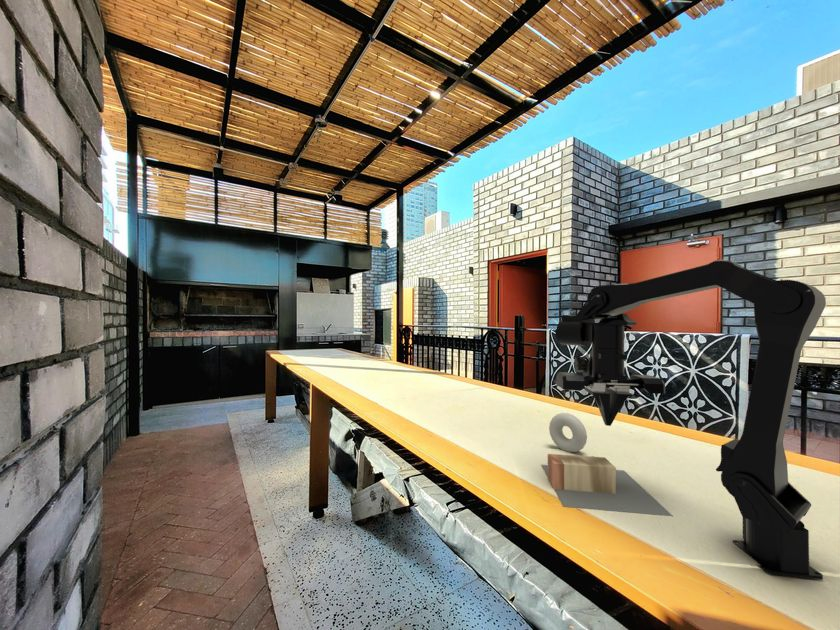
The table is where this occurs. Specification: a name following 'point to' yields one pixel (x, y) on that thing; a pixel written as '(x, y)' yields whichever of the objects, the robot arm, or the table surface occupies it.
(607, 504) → the rubber mat
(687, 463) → the table surface
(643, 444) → the table surface
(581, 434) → the donut
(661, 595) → the table surface
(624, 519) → the table surface
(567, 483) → the pine block
